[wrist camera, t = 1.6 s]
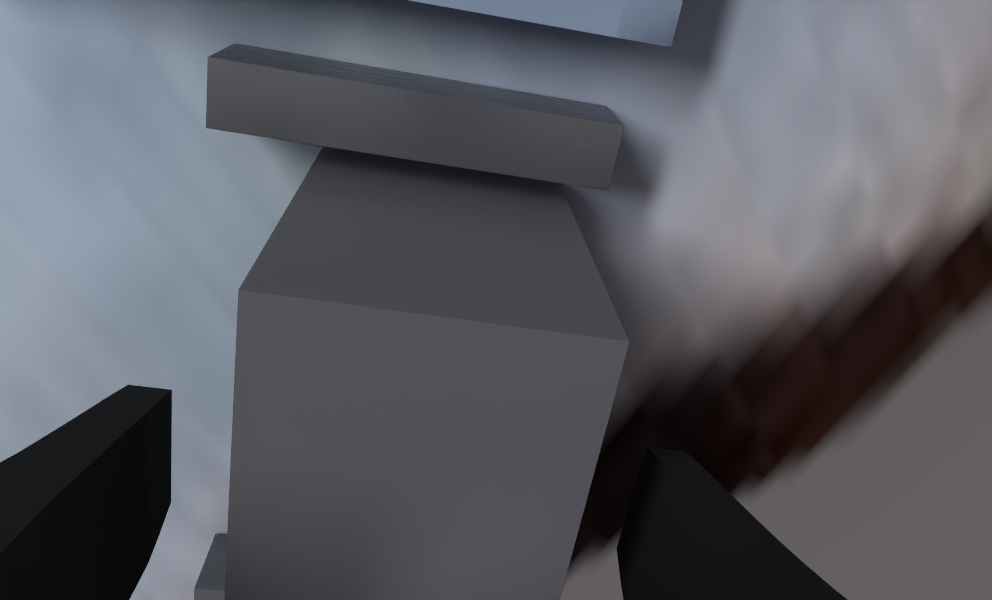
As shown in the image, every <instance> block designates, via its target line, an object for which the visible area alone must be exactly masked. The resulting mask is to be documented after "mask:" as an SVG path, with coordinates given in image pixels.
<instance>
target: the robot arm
mask: <svg viewBox="0 0 992 600" xmlns="http://www.w3.org/2000/svg"><path fill="white" fill-rule="evenodd" d="M171 417H172V390H168V389H159V388H151V387H142V386H134V385H127V386H126V387H124V388H122V389H120V390H119V391H117V392H115V393H114V394H112V395H110V396H109V397H107V398H106V399H104V400H102V401H101V402H99V403H98V404H96V405H95V406H93V407H91V408H90V409H88V410H87V411H85V412H83V413H82V414H80V415H79V416H77V417H76V418H74V419H72V420H71V421H69V422H68V423H66V424H64V425H63V426H61V427H60V428H58V429H56V430H55V431H53V432H51V433H50V434H48V435H46V436H45V437H43V438H42V439H40V440H38V441H37V442H35V443H33V444H32V445H30V446H28V447H27V448H25V449H24V450H22V451H20V452H18V453H17V454H15V455H13V456H11V457H10V458H8V459H6V460H4V461H2V462H1V463H0V600H129V599H130V597H131V595H132V593H133V591H134V590H135V588H136V586H137V584H138V582H139V580H140V578H141V576H142V574H143V572H144V570H145V568H146V566H147V564H148V562H149V560H150V557H151V554H152V552H153V549H154V547H155V544H156V542H157V539H158V536H159V534H160V531H161V528H162V525H163V523H164V520H165V517H166V514H167V512H168V509H169V506H170V503H171ZM617 554H618V562H619V571H620V579H621V586H622V593H623V598H624V600H847V599H846V598H845V597H843V596H842V595H841V594H840V593H838V592H837V591H836V590H835V589H833V588H832V587H831V586H830V585H829V584H827V583H826V582H825V581H824V580H823V579H822V578H820V577H819V576H818V575H817V574H816V573H815V572H813V571H812V570H811V569H810V568H809V567H808V566H806V565H805V564H804V563H803V562H802V561H801V560H800V559H798V558H797V557H796V556H795V555H794V554H793V553H792V552H791V551H789V550H788V549H787V548H786V547H785V546H784V545H783V544H782V543H781V542H780V541H779V540H777V539H776V538H775V537H774V536H773V535H772V534H771V533H770V532H769V531H768V530H767V529H766V528H765V527H764V526H763V525H761V523H760V522H759V521H757V520H756V519H755V518H754V517H753V516H752V515H751V514H750V513H749V512H748V511H747V510H746V509H745V508H744V507H743V506H742V505H741V504H740V503H739V502H738V501H737V500H736V499H735V498H734V497H733V496H732V495H731V494H730V493H729V492H728V491H727V490H726V489H725V488H724V487H723V486H722V485H721V484H720V483H719V482H718V481H717V480H716V479H715V478H714V477H713V476H712V475H711V474H710V473H709V472H707V471H706V470H705V469H704V468H703V467H702V466H701V465H700V464H699V463H698V462H697V461H696V460H695V459H694V458H693V457H691V456H690V455H689V454H688V453H687V452H685V451H680V450H672V449H663V448H655V447H647V450H646V453H645V456H644V460H643V463H642V466H641V470H640V473H639V476H638V480H637V483H636V486H635V490H634V493H633V496H632V500H631V503H630V506H629V509H628V513H627V516H626V519H625V523H624V526H623V529H622V533H621V536H620V539H619V543H618V546H617Z"/></svg>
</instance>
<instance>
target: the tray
mask: <svg viewBox="0 0 992 600" xmlns="http://www.w3.org/2000/svg"><path fill="white" fill-rule="evenodd" d="M410 1H415V2H421V3H426V4H432V5H437V6H443V7H449V8H454V9H460V10H465V11H471V12H476V13H482V14H488V15H493V16H499V17H504V18H510V19H515V20H521V21H527V22H532V23H538V24H543V25H549V26H555V27H560V28H566V29H571V30H577V31H582V32H588V33H594V34H599V35H605V36H610V37H616V38H621V39H627V40H633V41H638V42H644V43H649V44H655V45H660V46H666V47H671V46H672V42H673V39H674V35H675V31H676V27H677V23H678V19H679V15H680V11H681V7H682V3H683V0H410Z"/></svg>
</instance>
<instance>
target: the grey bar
mask: <svg viewBox="0 0 992 600" xmlns="http://www.w3.org/2000/svg"><path fill="white" fill-rule="evenodd" d="M629 343H630V341H629V339H628V337H627V334H626V332H625V330H624V328H623V325H622V323H621V321H620V319H619V316H618V314H617V312H616V310H615V307H614V305H613V303H612V301H611V298H610V296H609V294H608V292H607V289H606V287H605V285H604V282H603V280H602V278H601V276H600V273H599V271H598V269H597V267H596V264H595V262H594V260H593V258H592V255H591V253H590V251H589V249H588V246H587V244H586V242H585V240H584V237H583V235H582V233H581V231H580V228H579V226H578V224H577V221H576V219H575V217H574V215H573V212H572V210H571V208H570V206H569V203H568V201H567V199H566V197H565V194H564V192H563V190H562V188H561V185H560V183H557V182H551V181H544V180H538V179H531V178H525V177H518V176H512V175H506V174H499V173H493V172H486V171H480V170H473V169H467V168H461V167H454V166H448V165H441V164H435V163H428V162H422V161H416V160H409V159H403V158H396V157H390V156H383V155H377V154H370V153H364V152H358V151H351V150H345V149H338V148H332V147H325V146H324V147H323V148H322V150H321V152H320V153H319V155H318V157H317V158H316V160H315V162H314V163H313V165H312V167H311V169H310V170H309V172H308V174H307V175H306V177H305V179H304V180H303V182H302V184H301V185H300V187H299V189H298V190H297V192H296V194H295V196H294V197H293V199H292V201H291V202H290V204H289V206H288V207H287V209H286V211H285V212H284V214H283V216H282V218H281V219H280V221H279V223H278V224H277V226H276V228H275V229H274V231H273V233H272V234H271V236H270V238H269V239H268V241H267V243H266V245H265V246H264V248H263V250H262V251H261V253H260V255H259V256H258V258H257V260H256V261H255V263H254V265H253V266H252V268H251V270H250V272H249V273H248V275H247V277H246V278H245V280H244V282H243V283H242V285H241V287H240V288H239V293H238V315H237V337H236V359H235V381H234V402H233V424H232V446H231V468H230V490H229V512H228V534H227V556H226V578H225V600H559V599H560V596H561V593H562V589H563V585H564V582H565V578H566V574H567V571H568V567H569V563H570V560H571V556H572V552H573V548H574V545H575V541H576V537H577V534H578V530H579V526H580V523H581V519H582V515H583V512H584V508H585V504H586V501H587V497H588V493H589V490H590V486H591V482H592V479H593V475H594V471H595V468H596V464H597V460H598V457H599V453H600V449H601V446H602V442H603V438H604V435H605V431H606V427H607V424H608V420H609V416H610V413H611V409H612V405H613V402H614V398H615V394H616V390H617V387H618V383H619V379H620V376H621V372H622V368H623V365H624V361H625V357H626V354H627V350H628V346H629Z"/></svg>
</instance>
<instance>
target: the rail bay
mask: <svg viewBox="0 0 992 600" xmlns="http://www.w3.org/2000/svg"><path fill="white" fill-rule="evenodd" d="M206 128H210V129H216V130H222V131H229V132H235V133H242V134H248V135H255V136H261V137H268V138H274V139H280V140H287V141H293V142H300V143H306V144H313V145H319V146H325V147H332V148H338V149H345V150H351V151H358V152H364V153H370V154H377V155H383V156H390V157H396V158H403V159H409V160H416V161H422V162H428V163H435V164H441V165H448V166H454V167H461V168H467V169H473V170H480V171H486V172H493V173H499V174H506V175H512V176H518V177H525V178H531V179H538V180H544V181H551V182H557V183H563V184H570V185H576V186H583V187H589V188H596V189H602V190H609V188H610V184H611V180H612V175H613V171H614V167H615V163H616V159H617V154H618V150H619V146H620V142H621V138H622V134H623V129H624V125H623V124H622V123H621V122H620V121H619V120H618V119H617V118H616V116H615V115H614V114H613V113H612V112H611V111H610V110H609V109H608V108H607V107H606V106H602V105H596V104H590V103H584V102H578V101H572V100H567V99H561V98H555V97H549V96H543V95H537V94H531V93H525V92H519V91H513V90H507V89H501V88H495V87H489V86H483V85H477V84H472V83H466V82H460V81H454V80H448V79H442V78H436V77H430V76H424V75H418V74H412V73H406V72H400V71H394V70H388V69H383V68H377V67H371V66H365V65H359V64H353V63H347V62H341V61H335V60H329V59H323V58H317V57H311V56H305V55H299V54H293V53H288V52H282V51H276V50H270V49H264V48H258V47H252V46H246V45H240V44H232V45H230V46H228V47H226V48H224V49H223V50H221V51H219V52H217V53H215V54H213V55H211V56H209V57H208V72H207V112H206ZM226 556H227V535H222V534H215V537H214V539H213V542H212V545H211V547H210V550H209V552H208V555H207V557H206V560H205V563H204V565H203V568H202V570H201V573H200V575H199V578H198V581H197V583H196V586H195V590H194V600H225V578H226Z"/></svg>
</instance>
